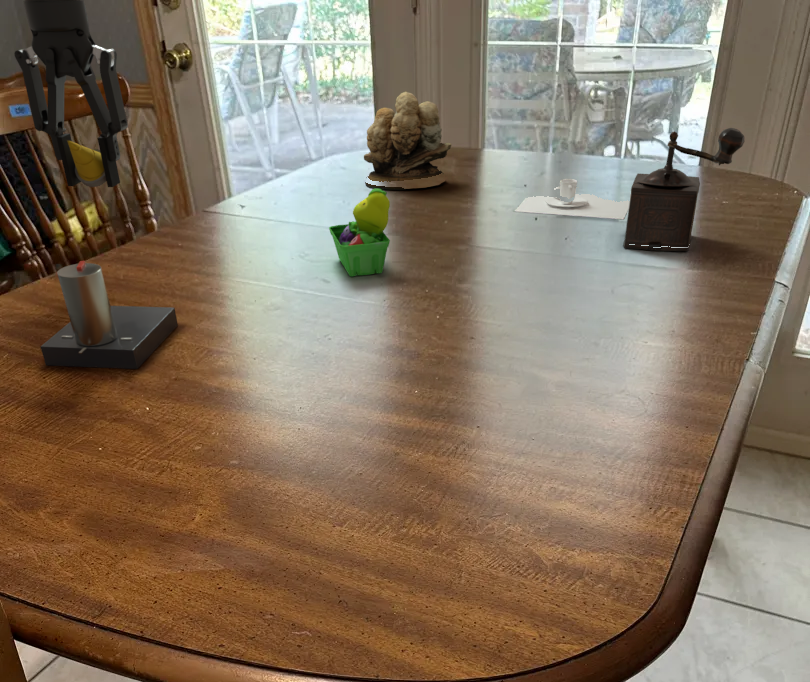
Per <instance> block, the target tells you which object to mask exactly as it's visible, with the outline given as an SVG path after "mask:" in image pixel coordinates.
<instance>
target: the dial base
mask: <svg viewBox="0 0 810 682" xmlns="http://www.w3.org/2000/svg"><path fill="white" fill-rule="evenodd" d="M110 306H111V310H112V314H113V318H114V323H115V327H116V331H117V338H116V339H115V340H113V341H111V342H109V343H106V344H103V345H98V346H83V345H79V344H78V343H76V340H75V337H74V333H73V329H72V326H71V322H70V321H69V322H68V323H67V324H66V325H64V326H63V327H62V328H61V329H60V330H58V331H57V332H56V333H55V334H54V335H53V336H51V337H50V338H49V339H48V340H47V341H45V342H44V343H43V344H42V345H41V346H40V350H41V354H42V357H43V361H44V364H45V366H51V367H52V366H53V367H75V368H76V367H78V368H101V369H102V368H103V369H126V370H138V369H139V368H140V367H141V366H142V365H143V364H144V363H145V362H146V361H147V359H149V357H150V356H151V355H152V354H153V353H154V352H155V351H156V350H157V349H158V347H159V346H161V344H162V343H163V342H164V341H165V340H166V339H167V338H168V337H169V335H171V333H173V332H174V331H175V329H176V328H177V327H178V324H179V323H178V317H177V314H176V308H175V307H172V306H171V307H169V306H168V307H167V306H135V305H134V306H133V305H110Z"/></svg>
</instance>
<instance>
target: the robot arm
mask: <svg viewBox="0 0 810 682" xmlns="http://www.w3.org/2000/svg"><path fill="white" fill-rule="evenodd" d="M22 3H23V6H24V10H25V15H26V20H27V24H28V27H29V29H30V31H31V35H32V36H31V37H32V38H31V45H30V46H28V47H25V48H22V49H18V50H15V51H14V58H15V60H16V62H17V63H18V65H19V68H20V69H21V71H22V76H23V81H24V86H25V91H26V94H27V99H28V103H29V107H30V112H31V116H32V117H31V118H32V122H33V126H34V129H35V130H36V131H38V132H43V133H46V134H48V135H49V137H50V138H51V143H52V146H53V153H54V156H55V158H56V159H57V161H61V163H62V167H63V171H64V175H65V179H66V184H67V187H75V186H77V185H78V184H80V183H82V182H81V181H80V180H79V179H78V177H77V176H76V173H75V163H74V160H73V157H72V153H71V150H70V147H69V144H68V141H72V142H73V140H72V136H71V133H65V132H66V131H67V128H65V83H66V81H67V77H70V78H74V79H75V82H76V84H77V85H78V86H80V89H81V90H82V93H83V95H84V97H85V99H86V102H87V104H88V106H89V109H90V110H91V113H92V115H93V117H94V120H95V122H96V125H97V127H98V128H99V131H100V133H101V134H99V136H98V137H97V143H98V149H99V150H100V153H101V158H102V162H103V167H104V172H105V176H106V186H107V188H114V187H116V186H117V185H119V184H120V183H121V180H120V179H121V178H120V174H119V169H118V164H117V161H119V160H121V151H120V147H119V141H118V133H120V132H123V131H124V130H127V129H128V127H129V123H128V119H127V114H126V109H125V104H124V100H123V95H122V91H121V86H120V82H119V77H118V73H117V57H118V53H117V51H116V50H115V49H114V48H108V49H107V48H105V47H102V46H100V45H97V43H96V42H95V41H94V39H93V37H92V35H91V31H90V23H89V17H88V13H87V7H86V3H85V0H23V2H22ZM94 57H95V59H96V60H95V61H96V64H97V65H98V66H99V72H100V73H99V74H100V78H101V81H102V82H101V83H102V87H103V91H104V92H103V93H104V96H105V99H104V97H103V95H102V92H101V89H100V87H99V85H98V83H97V80H96V79H97V76H96V74H95V73H94V72H95V71H94V70H93V68H92V65H91V64H92V62H93V60H94ZM39 60H40V61H41V62H42V63H43V64H44V67H45V81H46V83H47V98H46V94H45V90H44V85H43V84H44V83H43V81H42V80H43V79H42V75H41V71H40V68H39ZM46 99H47V100H46ZM105 100H106V101H105Z"/></svg>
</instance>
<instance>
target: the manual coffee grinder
mask: <svg viewBox="0 0 810 682" xmlns="http://www.w3.org/2000/svg"><path fill="white" fill-rule="evenodd" d="M678 137H679V134H678V132H677V131H672V132H671V133H670V134H669V141H668V143H667V145H666V146H667V147H668V151H667V158H666V161H665V162H666V163H665V165H664V167H662V168H658V169H656V170H653V171H652V172H650V173H640V172H639V173H636V175H635V178H634V180H633V183H632V184H631V186H630V187H631V188H630V191H631V194H630V202H629V209H628V211H627V218H626V227H625V234H624V240H623V243H622V247H623V248H624V249H628V250H629V249H630V250H642V251H653V252H654V251H656V252H661V251H665V252H688V251H689V249H690V247H691V243H692V232H693V227H694V221H695V215H696V208H697V202H698V195H699V192H700V186H701V182H700V177H699V176H690V175H687V174H686V173H684V172H683V171H682V170H679V169H677V168H674V165H673V161H674V157H675V156H674V155H675V150H676V151H678V152H680V153H681V154H685V155H689V156H692V157H693V156H694V157H697V158H701V159H703V160H707V161H710V162H712V163H714V164H718V166H721V165H729V164H732V162H733V160H732V159H733V155H734V154H735V153H736V152H737V151H738V150H739V149H741V148H742V147H743V146H744V144H745V140H746V139H745V135H744V134H743V133H742V131H741V130H739V129H737V128H734V127H727V128H725V129H722V131H721V132H720V133H719V135H718V139H717V140H718V141H717V142H718V150H717V152H716V153H715V154H714V155H713V154H710V153H708V152H705V151H702V150H698V149H693V148H689V147H684V146H681V145H678V142H677V140H678ZM690 240H691V241H690ZM629 244H635V245H629ZM689 244H690V245H689ZM641 245H649V246H641ZM661 246H668V247H661ZM669 246H670V247H669ZM688 246H689V248H671V247H688ZM653 247H661V248H653Z"/></svg>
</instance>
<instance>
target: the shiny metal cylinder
mask: <svg viewBox="0 0 810 682" xmlns="http://www.w3.org/2000/svg"><path fill="white" fill-rule="evenodd" d="M56 274H57V279H58V281H59V285H60V288H61V293H62V296H63V299H64V300H63V301H64V303H65V307H66V311H67V315H68V318H69V322H71V326H72V329H73V333H74V337H75V340H76V343H78V344H79V345H83V346H98V345H103V344H106V343H109V342H111V341H113V340H115V339H116V338H117V331H116V327H115V323H114V318H113V314H112V310H111V306H112V305H111V303H110V297H109V294H108V290H107V289H108V288H107V286H106V281H105V278H104V273H103V268H102V266H101V265H99V264H98V263H93V262H92V263H91V262H86V261H85V260H80V261H79V262H78V263H75V264H70V265H65V266H64V267H62V268H60V269H58V270H57V272H56Z"/></svg>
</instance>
